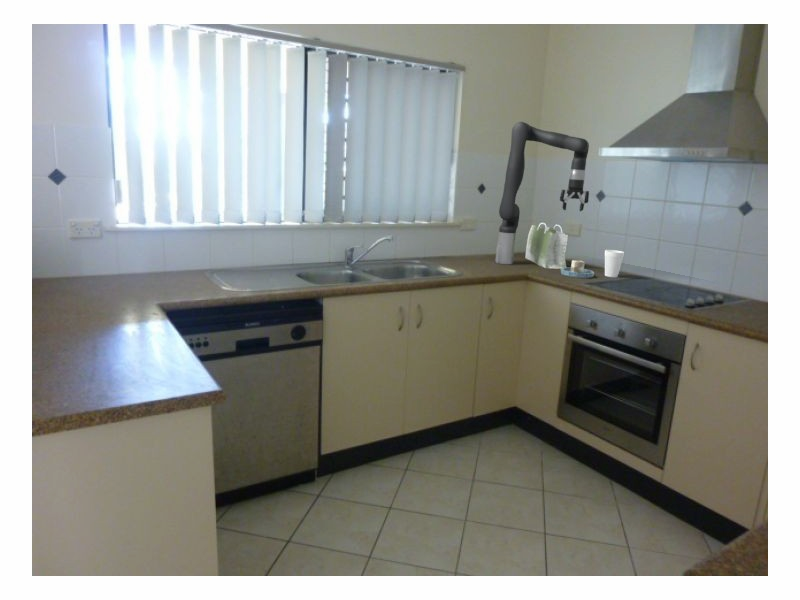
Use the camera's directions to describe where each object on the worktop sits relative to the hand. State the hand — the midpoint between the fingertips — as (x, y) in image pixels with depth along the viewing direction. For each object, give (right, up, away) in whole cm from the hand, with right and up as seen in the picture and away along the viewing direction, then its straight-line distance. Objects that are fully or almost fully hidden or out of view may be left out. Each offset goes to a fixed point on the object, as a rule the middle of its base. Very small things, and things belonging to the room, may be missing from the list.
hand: (572, 210), depth 296 cm
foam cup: (+20, -34, 0) cm, 40 cm away
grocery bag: (-7, -26, +29) cm, 39 cm away
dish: (+1, -34, -3) cm, 34 cm away
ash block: (+1, -33, -3) cm, 33 cm away
